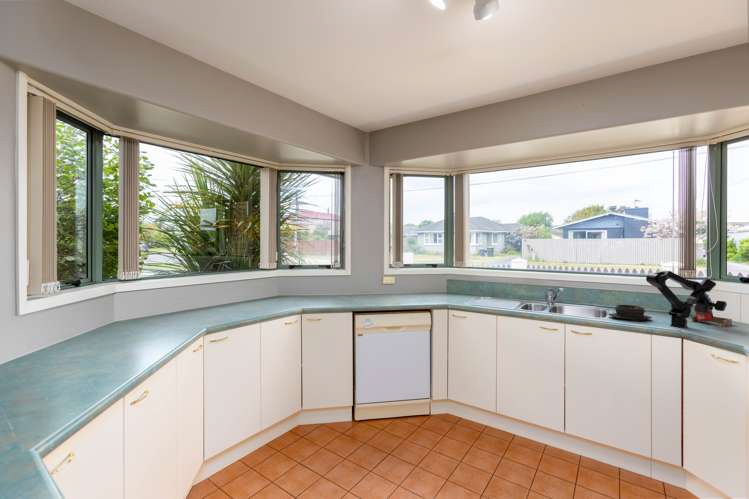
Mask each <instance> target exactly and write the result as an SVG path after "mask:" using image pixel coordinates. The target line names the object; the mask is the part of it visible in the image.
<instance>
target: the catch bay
mask: <svg viewBox="0 0 749 499" xmlns="http://www.w3.org/2000/svg"><path fill="white" fill-rule="evenodd" d="M713 317H714V321H710V322H711V323H717V324H721V327H722V328H724V327H729V326H732V325H733V320H732V318H727V317H720V316H718V317H717V316H713ZM691 322H693V323H694V322H698V320H697V316H696V314H695V315H692V316H691Z"/></svg>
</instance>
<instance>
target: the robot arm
mask: <svg viewBox="0 0 749 499" xmlns="http://www.w3.org/2000/svg"><path fill="white" fill-rule="evenodd" d="M645 280H646V282H647V283H648V284H650V285H651V286H653V287H655V288H656V289H657V290H658V291H659V292H660V293H661V295H662V296H663V297H665V299H666V300H667V301H668V302H669V303H670V308H671V309H669V311H668V312H667V314H668V315H669V316H671V317H670V318H671V319H670V320H671V321H670V322H671V323H670V324H669V326H671V327H676V328H681V329H682V328H687V327H688V319H687V318H690V316H691V312H692V308H694V304H696V305H695V309H694V312H695V311H696V312H697V313H702V314H706V313H710V312H711V310H712V311H713V309H714V310H715V311H720V312H724V311H725V310H726V307H727V305H728V303H727V301H725V300H723V301H722V300H716V302H714V300H712V299H711V298H709V296H710V295H709V294H707V293H710V292H711V291H712V290H713V289H714V288H715V287H716V285H717V283H716V282H715V281H714V280H711V279H710V278H708V277H707V278H706V277H705V278H703V280H702V281H700V282H699V281H695V280H690V279H687V278H685V277H683V276H681V275H679V274H677V273H674V272H673V271H671V270H662V271H659V272H653V273H648V274H647V275H646V278H645ZM667 280H670V281H672V282H675V283H676V284H679V285H680V286H681V287H682V288H683V289H684V290H686V291H690V292H691V291H692V292H691V293H690V294H689V297H688V298H686V300H680V299H679V297H677V296H676V294H675V293H674V292H673V291H672V289H670V287H668V285H667V284H666V282H667Z"/></svg>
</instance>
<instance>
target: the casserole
mask: <svg viewBox="0 0 749 499" xmlns="http://www.w3.org/2000/svg"><path fill="white" fill-rule="evenodd" d="M614 310H615V312H613V313H612V312H611V313H608V316H609V317H613V318H618V319H622V320H626V321H641V320H647V319H652V318H653V317H652V316H649V315H646V314H645V313H646V310H645V308H644V307H643V306H639V305H633V304H617V305H616V306H615V307H614Z"/></svg>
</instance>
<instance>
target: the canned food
mask: <svg viewBox="0 0 749 499" xmlns="http://www.w3.org/2000/svg"><path fill="white" fill-rule="evenodd" d="M695 305H696V304H693V308H694V312H695V315H696V316H697V320H698V321H697V322H699V323H705V322H707V323H709V322H710V321H714V317H715V316H714V314H713V309H712V310H711V312H710V313H706V314H702V313H697V312H696V311H695Z"/></svg>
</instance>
